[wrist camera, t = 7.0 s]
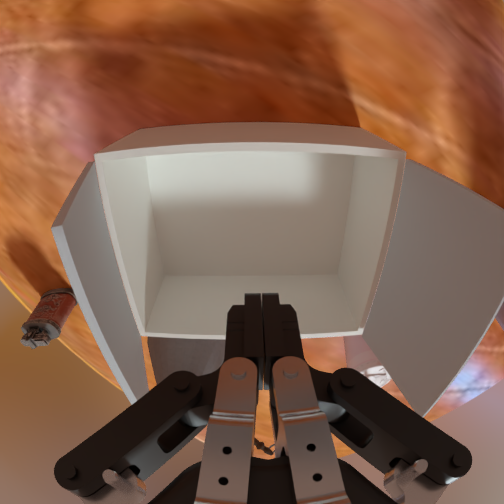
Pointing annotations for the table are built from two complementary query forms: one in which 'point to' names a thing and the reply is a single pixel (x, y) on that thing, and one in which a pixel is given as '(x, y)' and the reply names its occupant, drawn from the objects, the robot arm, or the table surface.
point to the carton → (250, 222)
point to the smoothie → (364, 360)
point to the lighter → (48, 317)
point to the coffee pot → (189, 360)
